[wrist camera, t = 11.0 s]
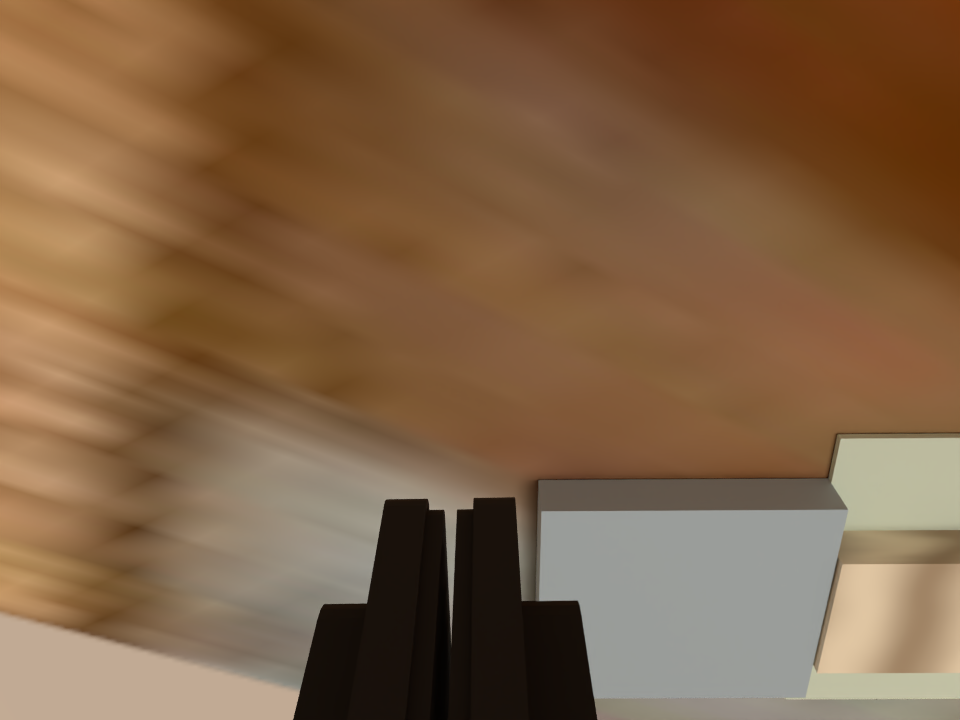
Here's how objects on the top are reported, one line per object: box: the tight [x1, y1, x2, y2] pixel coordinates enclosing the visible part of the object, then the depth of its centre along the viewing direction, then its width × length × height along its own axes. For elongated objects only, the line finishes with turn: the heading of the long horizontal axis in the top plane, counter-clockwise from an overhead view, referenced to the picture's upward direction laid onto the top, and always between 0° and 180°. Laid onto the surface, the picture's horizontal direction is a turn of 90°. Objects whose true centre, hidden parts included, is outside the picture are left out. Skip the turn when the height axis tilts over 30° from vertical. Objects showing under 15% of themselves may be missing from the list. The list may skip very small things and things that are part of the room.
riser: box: [535, 478, 848, 698], centre depth 42 cm, size 14×12×2 cm
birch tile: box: [813, 530, 960, 673], centre depth 42 cm, size 10×7×2 cm
